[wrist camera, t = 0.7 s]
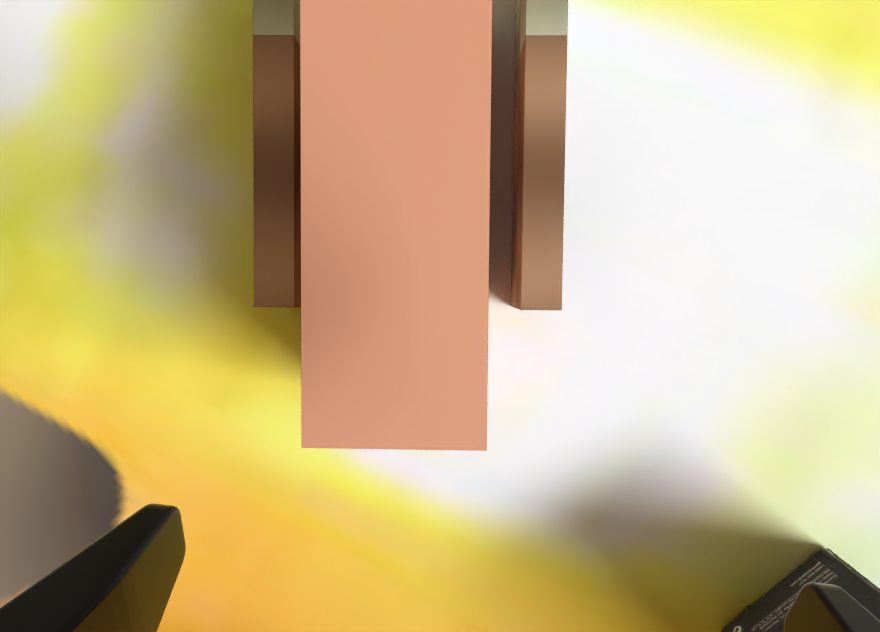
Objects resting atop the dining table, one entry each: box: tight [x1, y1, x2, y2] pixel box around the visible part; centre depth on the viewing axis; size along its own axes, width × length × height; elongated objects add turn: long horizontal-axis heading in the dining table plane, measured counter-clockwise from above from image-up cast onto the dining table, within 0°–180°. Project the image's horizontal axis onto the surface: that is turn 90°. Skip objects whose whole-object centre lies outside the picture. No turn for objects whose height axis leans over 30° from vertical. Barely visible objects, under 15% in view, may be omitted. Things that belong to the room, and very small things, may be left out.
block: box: [300, 0, 492, 451], centre depth 22 cm, size 16×6×9 cm, turn 179°
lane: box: [253, 0, 568, 310], centre depth 24 cm, size 14×12×4 cm
